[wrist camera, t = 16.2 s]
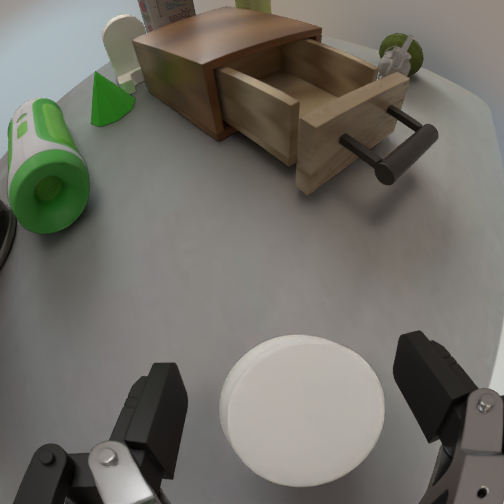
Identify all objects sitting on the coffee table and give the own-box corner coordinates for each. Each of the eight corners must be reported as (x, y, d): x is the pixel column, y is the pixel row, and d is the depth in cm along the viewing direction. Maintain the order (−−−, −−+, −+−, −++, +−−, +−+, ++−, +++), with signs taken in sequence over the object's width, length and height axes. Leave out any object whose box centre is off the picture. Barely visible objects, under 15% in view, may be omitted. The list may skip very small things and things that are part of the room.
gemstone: (88, 114, 28) (70, 78, 23) (130, 90, 29) (115, 53, 24) (94, 134, 26) (71, 93, 20) (141, 107, 27) (125, 64, 21)
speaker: (27, 160, 26) (-3, 120, 19) (70, 125, 28) (45, 81, 21) (46, 254, 19) (-11, 203, 12) (110, 200, 21) (65, 133, 14)
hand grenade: (434, 41, 22) (421, 75, 21) (417, 68, 29) (400, 105, 28) (395, 17, 23) (374, 45, 22) (382, 46, 29) (359, 79, 28)
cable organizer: (124, 97, 29) (98, 31, 20) (116, 74, 33) (96, 21, 24) (163, 79, 29) (143, 12, 20) (148, 59, 34) (132, 6, 25)
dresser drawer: (431, 160, 19) (456, 108, 14) (355, 238, 17) (383, 175, 12) (286, 72, 26) (285, 26, 21) (196, 113, 24) (183, 60, 18)
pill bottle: (224, 424, 13) (166, 465, 5) (258, 340, 15) (241, 286, 7) (316, 454, 12) (362, 520, 4) (348, 368, 14) (427, 342, 6)
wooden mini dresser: (317, 90, 26) (322, 27, 19) (218, 142, 23) (201, 64, 16) (233, 54, 31) (226, 6, 24) (148, 92, 28) (130, 40, 21)
